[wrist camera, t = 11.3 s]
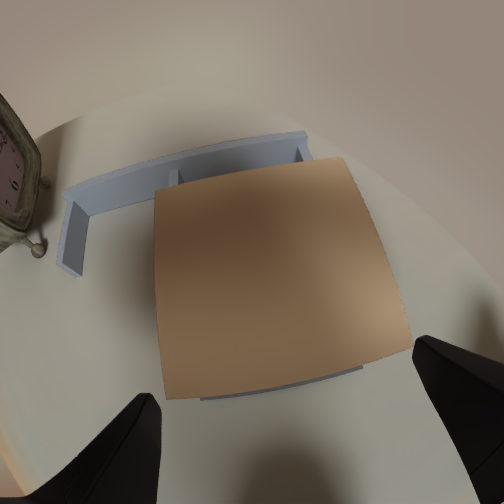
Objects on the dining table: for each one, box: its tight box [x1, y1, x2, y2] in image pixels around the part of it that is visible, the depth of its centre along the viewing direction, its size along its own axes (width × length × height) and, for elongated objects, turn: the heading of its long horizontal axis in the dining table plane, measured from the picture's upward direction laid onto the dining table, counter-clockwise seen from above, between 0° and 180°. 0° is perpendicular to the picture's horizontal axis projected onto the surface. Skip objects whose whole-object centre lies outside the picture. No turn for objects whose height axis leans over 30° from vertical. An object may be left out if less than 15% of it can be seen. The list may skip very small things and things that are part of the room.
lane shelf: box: [56, 131, 313, 277], centre depth 21 cm, size 7×22×4 cm, turn 100°
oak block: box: [154, 157, 414, 400], centre depth 12 cm, size 6×6×12 cm
